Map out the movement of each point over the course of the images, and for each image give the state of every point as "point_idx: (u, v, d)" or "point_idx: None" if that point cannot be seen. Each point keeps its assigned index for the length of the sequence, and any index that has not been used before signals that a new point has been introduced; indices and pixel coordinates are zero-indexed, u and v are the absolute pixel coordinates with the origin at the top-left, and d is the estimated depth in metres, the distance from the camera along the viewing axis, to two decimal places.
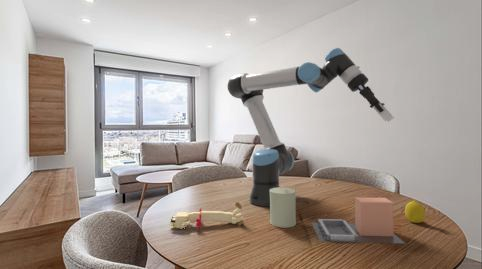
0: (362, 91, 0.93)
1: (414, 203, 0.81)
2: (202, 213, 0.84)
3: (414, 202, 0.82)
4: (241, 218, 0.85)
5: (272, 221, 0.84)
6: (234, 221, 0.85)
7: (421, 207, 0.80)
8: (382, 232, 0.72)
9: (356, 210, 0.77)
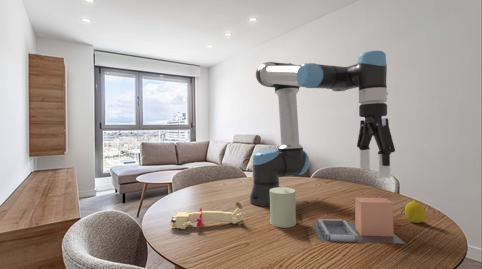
0: (382, 128, 0.68)
1: (414, 203, 0.82)
2: (202, 213, 0.84)
3: (414, 202, 0.82)
4: (241, 218, 0.85)
5: (272, 221, 0.84)
6: (234, 221, 0.85)
7: (421, 207, 0.80)
8: (382, 232, 0.72)
9: (356, 210, 0.77)
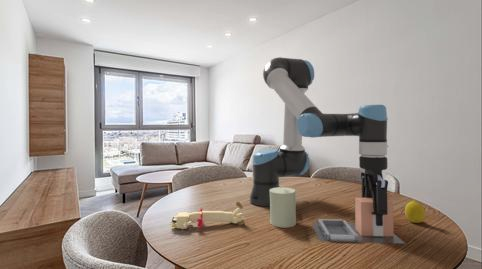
0: (380, 190, 0.69)
1: (414, 203, 0.81)
2: (203, 213, 0.84)
3: (414, 202, 0.82)
4: (242, 218, 0.86)
5: (272, 221, 0.84)
6: (235, 221, 0.85)
7: (421, 207, 0.80)
8: None
9: (356, 210, 0.77)
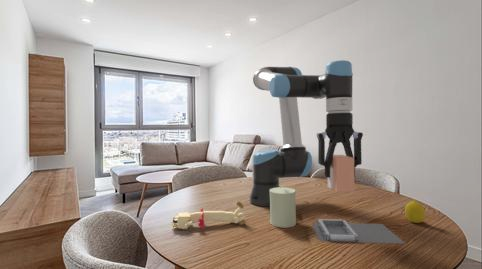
0: (319, 142, 0.76)
1: (414, 203, 0.82)
2: (204, 213, 0.84)
3: (414, 202, 0.82)
4: (243, 217, 0.86)
5: (272, 221, 0.84)
6: (236, 220, 0.85)
7: (421, 207, 0.80)
8: (333, 186, 0.75)
9: None
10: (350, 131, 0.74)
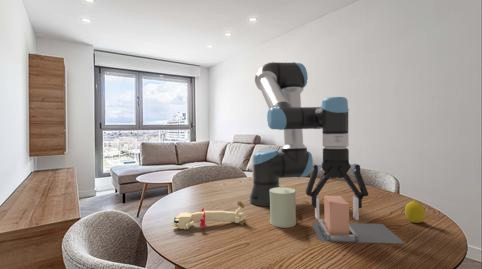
0: (312, 173, 0.77)
1: (414, 203, 0.82)
2: (205, 213, 0.84)
3: (414, 202, 0.82)
4: (244, 217, 0.86)
5: (272, 221, 0.84)
6: (237, 220, 0.85)
7: (421, 207, 0.80)
8: (329, 230, 0.75)
9: None
10: (346, 167, 0.74)
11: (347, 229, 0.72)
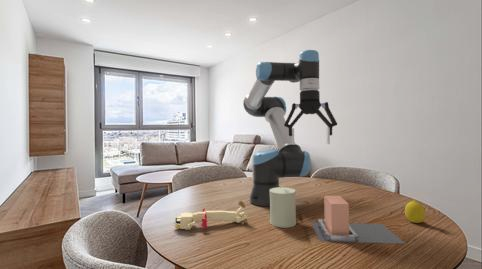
0: None
1: (414, 203, 0.82)
2: (207, 213, 0.84)
3: (414, 202, 0.82)
4: (245, 217, 0.87)
5: (272, 221, 0.84)
6: (238, 220, 0.86)
7: (421, 207, 0.80)
8: (329, 230, 0.75)
9: None
10: (318, 105, 0.96)
11: (347, 229, 0.72)
